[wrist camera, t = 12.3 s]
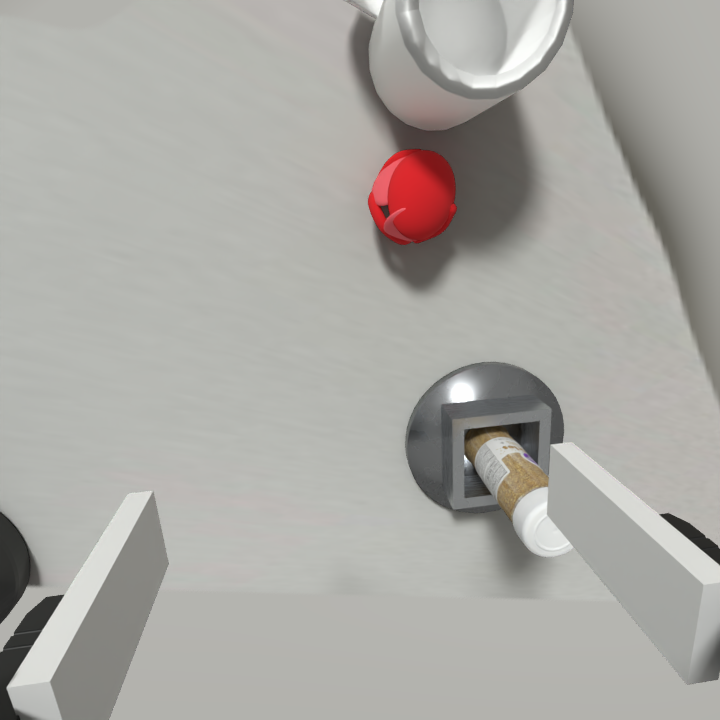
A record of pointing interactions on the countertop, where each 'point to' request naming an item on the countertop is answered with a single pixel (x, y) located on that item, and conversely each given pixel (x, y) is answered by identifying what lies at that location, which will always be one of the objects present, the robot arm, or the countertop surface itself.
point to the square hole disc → (475, 410)
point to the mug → (459, 53)
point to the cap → (413, 196)
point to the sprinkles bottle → (516, 488)
